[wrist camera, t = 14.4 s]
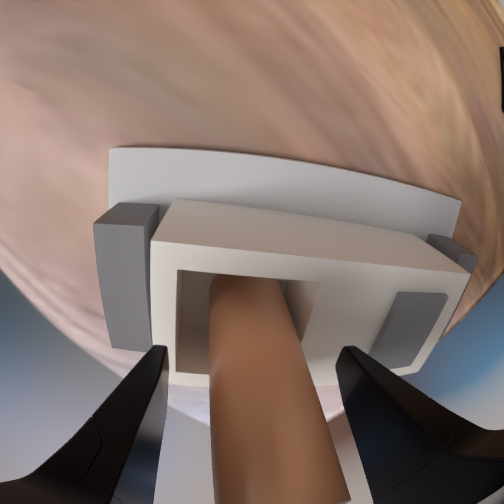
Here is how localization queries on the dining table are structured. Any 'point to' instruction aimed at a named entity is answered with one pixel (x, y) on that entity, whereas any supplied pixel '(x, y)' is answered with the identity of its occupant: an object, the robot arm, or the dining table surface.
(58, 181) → the dining table surface
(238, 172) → the board
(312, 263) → the white socket block
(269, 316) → the orange-brown tapered capsule
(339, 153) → the dining table surface
